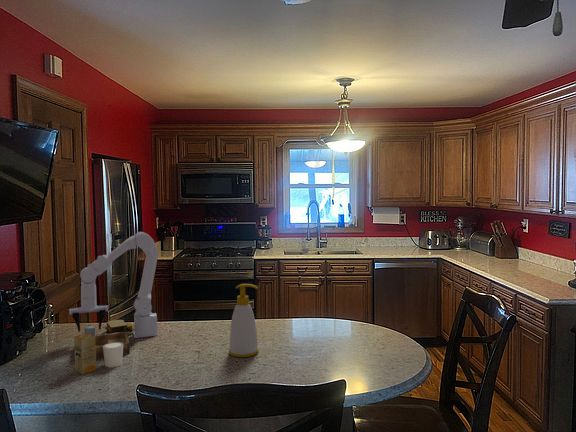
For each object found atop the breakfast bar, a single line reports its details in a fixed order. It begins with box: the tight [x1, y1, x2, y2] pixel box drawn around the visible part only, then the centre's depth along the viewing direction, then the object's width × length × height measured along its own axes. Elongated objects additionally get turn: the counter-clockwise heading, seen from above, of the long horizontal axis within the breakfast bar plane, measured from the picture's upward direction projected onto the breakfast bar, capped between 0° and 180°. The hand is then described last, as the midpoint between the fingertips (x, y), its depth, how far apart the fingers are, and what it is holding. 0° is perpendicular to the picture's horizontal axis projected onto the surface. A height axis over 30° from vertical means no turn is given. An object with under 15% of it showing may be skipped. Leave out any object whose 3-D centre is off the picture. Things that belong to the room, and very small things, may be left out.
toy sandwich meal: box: [103, 319, 135, 336], centre depth 199 cm, size 12×14×5 cm
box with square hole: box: [95, 332, 131, 359], centre depth 177 cm, size 18×16×4 cm
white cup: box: [103, 342, 124, 368], centre depth 162 cm, size 7×7×7 cm
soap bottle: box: [228, 283, 259, 358], centre depth 172 cm, size 11×12×26 cm
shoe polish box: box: [73, 333, 97, 375], centre depth 157 cm, size 5×5×12 cm
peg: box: [84, 326, 96, 335], centre depth 187 cm, size 4×4×6 cm
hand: (89, 329), depth 187 cm, fingers open, 7 cm apart
